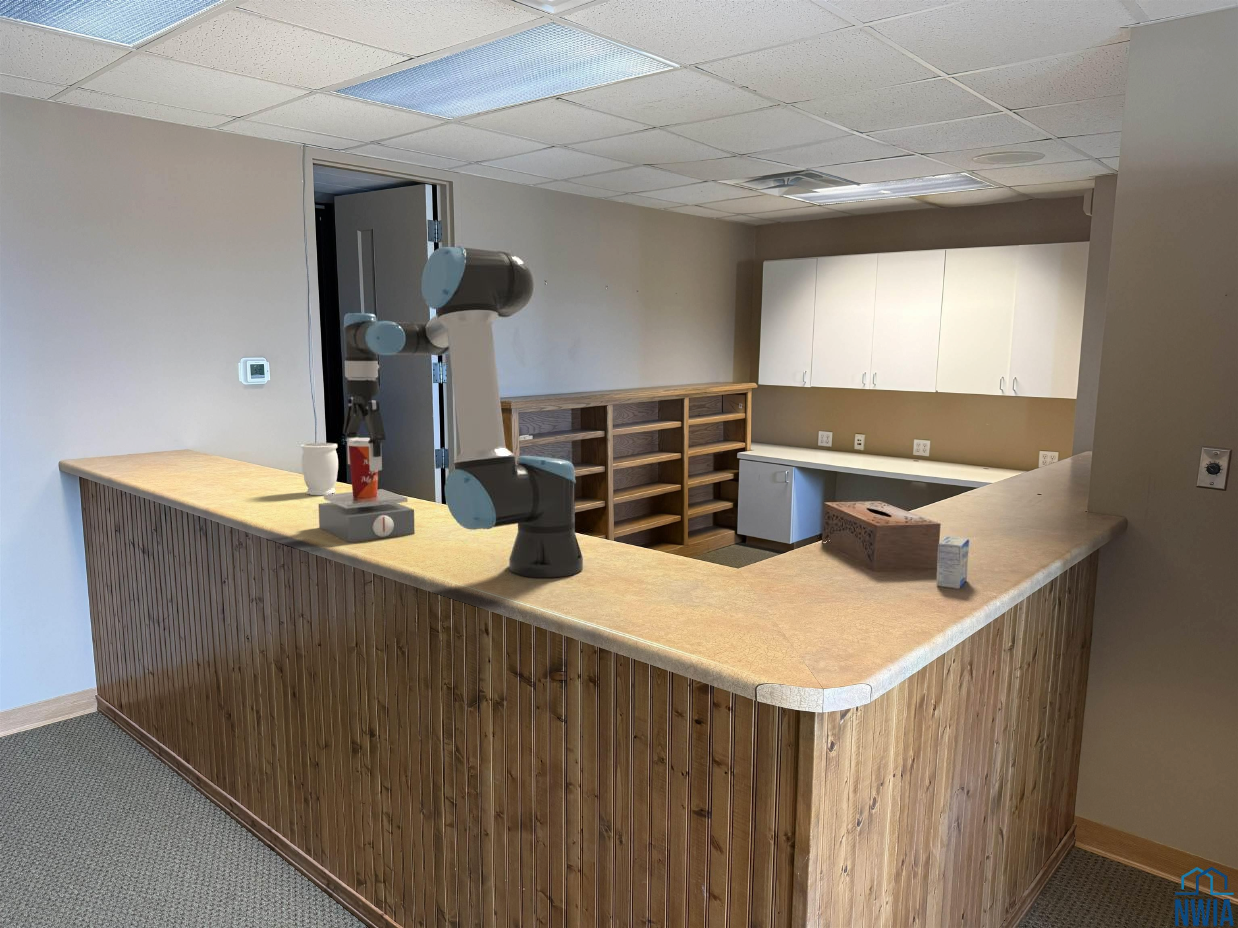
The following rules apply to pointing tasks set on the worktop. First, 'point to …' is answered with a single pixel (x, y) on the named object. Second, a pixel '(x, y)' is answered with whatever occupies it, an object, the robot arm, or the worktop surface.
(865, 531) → the tissue box cover
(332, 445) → the jar
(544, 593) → the worktop surface
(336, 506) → the scale base
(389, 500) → the scale pan
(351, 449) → the paper cup
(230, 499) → the worktop surface
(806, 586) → the worktop surface
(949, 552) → the medicine box
